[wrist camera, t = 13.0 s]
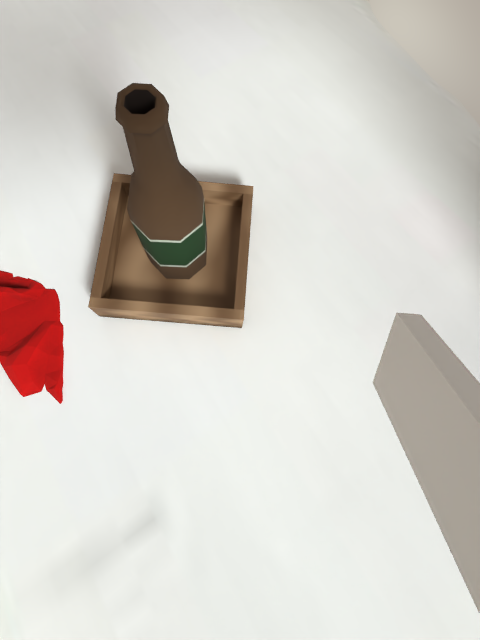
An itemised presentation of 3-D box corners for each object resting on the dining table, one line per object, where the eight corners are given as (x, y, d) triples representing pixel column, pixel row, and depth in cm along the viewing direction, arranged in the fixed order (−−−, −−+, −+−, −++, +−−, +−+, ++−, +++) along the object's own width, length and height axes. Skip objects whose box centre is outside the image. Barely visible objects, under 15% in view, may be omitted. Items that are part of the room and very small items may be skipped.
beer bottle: (142, 238, 48) (66, 70, 25) (198, 220, 49) (176, 43, 26) (160, 291, 46) (97, 162, 23) (218, 271, 47) (214, 130, 24)
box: (250, 203, 51) (253, 186, 47) (241, 327, 46) (243, 319, 42) (122, 192, 51) (113, 173, 47) (99, 316, 46) (88, 306, 42)
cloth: (107, 382, 44) (101, 380, 42) (-2, 445, 42) (-14, 446, 40) (20, 218, 50) (11, 209, 47) (-81, 265, 47) (-96, 258, 45)
